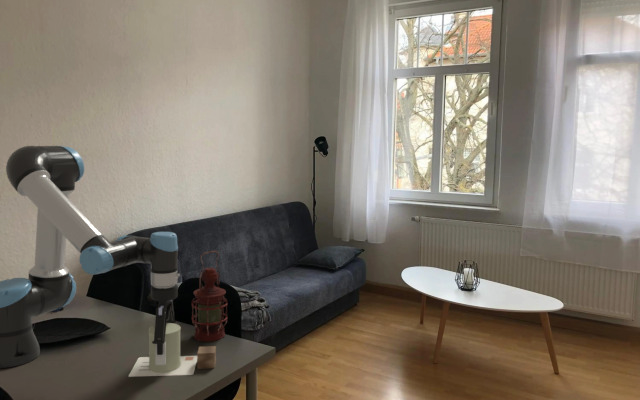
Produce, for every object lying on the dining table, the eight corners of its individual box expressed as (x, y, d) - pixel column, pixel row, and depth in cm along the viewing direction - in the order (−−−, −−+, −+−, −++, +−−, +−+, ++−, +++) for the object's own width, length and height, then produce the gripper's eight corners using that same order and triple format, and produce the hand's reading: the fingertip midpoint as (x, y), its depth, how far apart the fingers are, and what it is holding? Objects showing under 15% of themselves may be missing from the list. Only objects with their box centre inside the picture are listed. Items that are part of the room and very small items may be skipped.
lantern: (212, 327, 182) (212, 246, 179) (234, 336, 174) (235, 251, 171) (184, 336, 173) (184, 251, 169) (206, 346, 165) (206, 257, 162)
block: (197, 369, 148) (197, 353, 147) (199, 362, 153) (199, 346, 152) (214, 369, 149) (214, 352, 148) (215, 361, 154) (215, 346, 153)
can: (141, 367, 147) (141, 328, 146) (164, 356, 156) (164, 319, 154) (165, 375, 143) (164, 334, 142) (187, 363, 151) (187, 324, 150)
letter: (128, 377, 142) (128, 376, 142) (138, 357, 155) (138, 357, 155) (193, 375, 144) (193, 374, 144) (198, 356, 157) (198, 355, 157)
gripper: (170, 297, 135) (170, 372, 137) (183, 273, 159) (183, 338, 162) (141, 298, 134) (142, 373, 136) (159, 274, 158) (159, 338, 161)
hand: (164, 354), depth 149 cm, fingers open, 13 cm apart
